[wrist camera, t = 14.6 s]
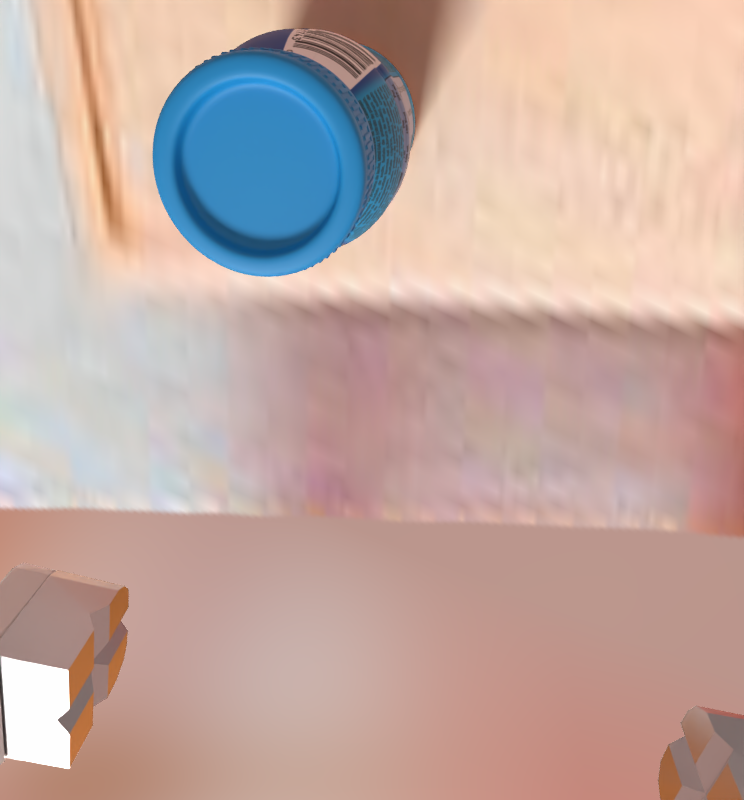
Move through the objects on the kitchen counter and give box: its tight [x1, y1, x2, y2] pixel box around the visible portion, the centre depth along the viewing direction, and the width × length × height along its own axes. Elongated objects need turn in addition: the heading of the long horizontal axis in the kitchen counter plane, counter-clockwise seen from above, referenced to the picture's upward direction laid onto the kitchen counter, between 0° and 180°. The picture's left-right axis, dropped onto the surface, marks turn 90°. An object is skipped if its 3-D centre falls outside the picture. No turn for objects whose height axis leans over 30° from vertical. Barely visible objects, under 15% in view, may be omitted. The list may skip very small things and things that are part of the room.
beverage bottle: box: [153, 29, 415, 277], centre depth 30 cm, size 8×8×20 cm
